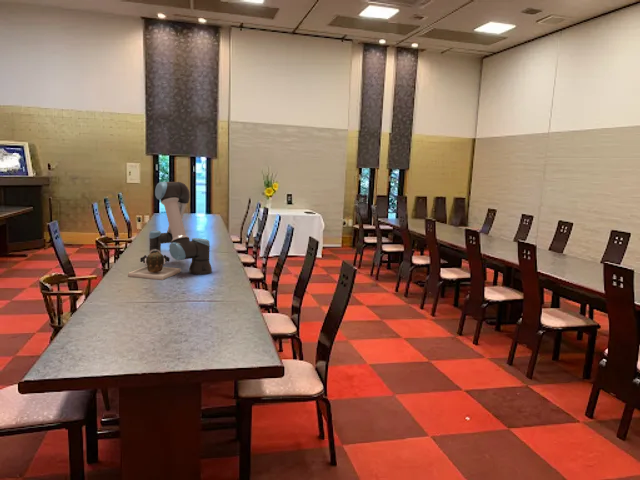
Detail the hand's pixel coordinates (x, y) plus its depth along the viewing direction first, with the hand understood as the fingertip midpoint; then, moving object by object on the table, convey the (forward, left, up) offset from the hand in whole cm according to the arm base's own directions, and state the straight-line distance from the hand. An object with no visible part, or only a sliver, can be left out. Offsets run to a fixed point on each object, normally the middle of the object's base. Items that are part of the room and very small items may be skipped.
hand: (155, 262), depth 306 cm
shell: (+2, -3, -7) cm, 8 cm away
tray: (+2, -3, -9) cm, 10 cm away
